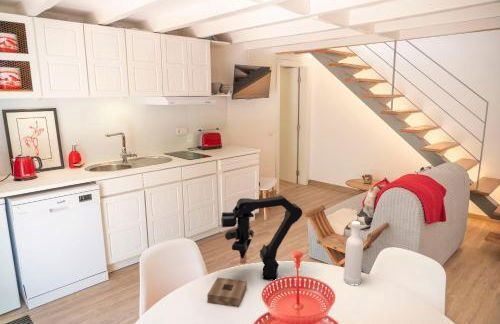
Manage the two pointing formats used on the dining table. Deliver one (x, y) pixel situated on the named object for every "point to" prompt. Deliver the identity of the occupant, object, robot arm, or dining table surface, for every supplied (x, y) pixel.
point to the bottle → (353, 256)
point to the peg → (243, 259)
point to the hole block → (227, 292)
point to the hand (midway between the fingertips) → (243, 256)
